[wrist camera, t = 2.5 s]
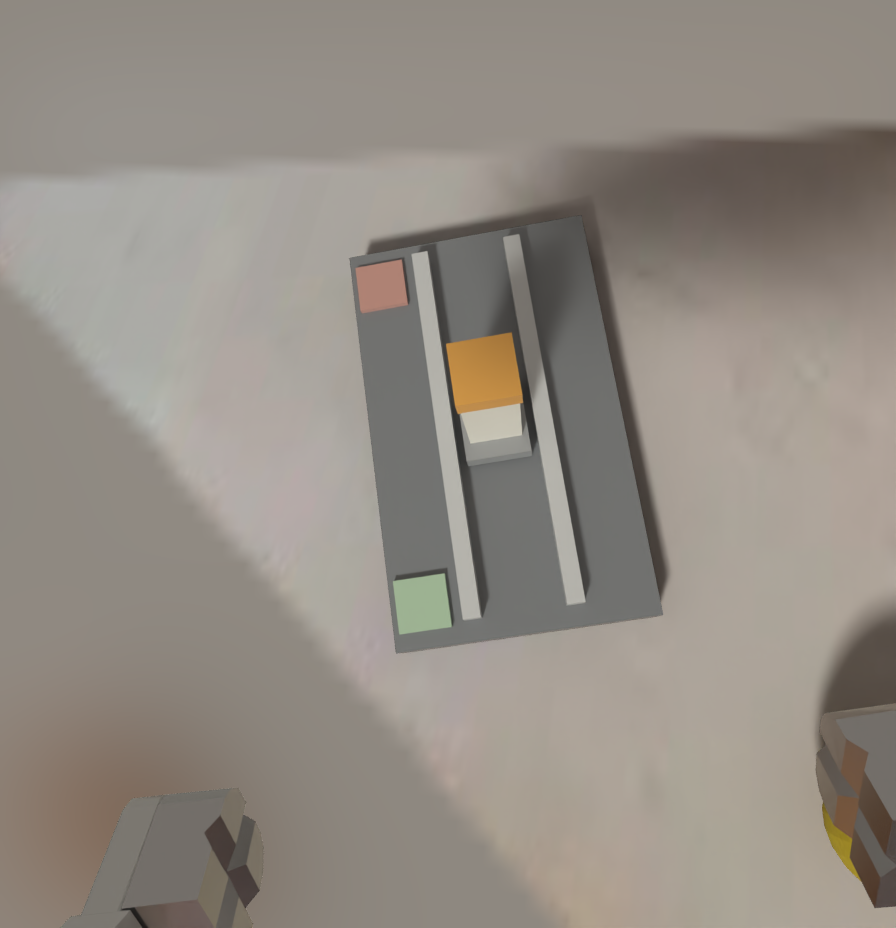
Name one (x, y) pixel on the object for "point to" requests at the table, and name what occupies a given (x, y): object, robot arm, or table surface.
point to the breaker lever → (489, 399)
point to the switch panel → (510, 481)
